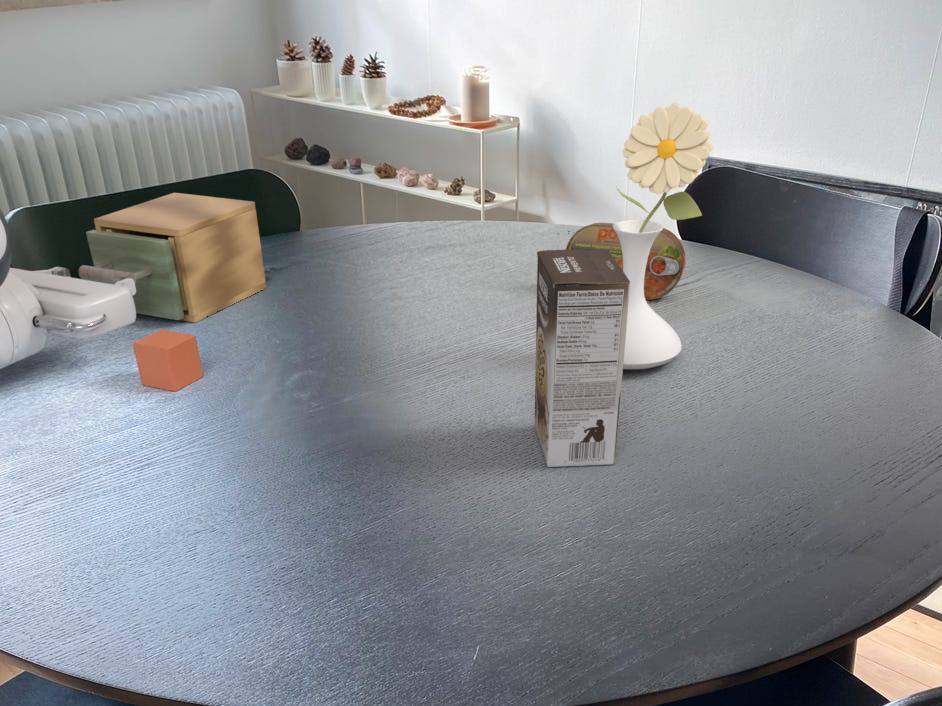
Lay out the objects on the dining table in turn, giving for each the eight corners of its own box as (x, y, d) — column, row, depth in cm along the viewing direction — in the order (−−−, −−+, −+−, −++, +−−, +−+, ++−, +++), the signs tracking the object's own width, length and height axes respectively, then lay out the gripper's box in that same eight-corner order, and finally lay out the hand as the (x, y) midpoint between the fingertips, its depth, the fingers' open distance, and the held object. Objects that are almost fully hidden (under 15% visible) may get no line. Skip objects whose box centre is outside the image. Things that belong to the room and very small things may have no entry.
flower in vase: (552, 361, 106) (562, 101, 91) (615, 333, 113) (634, 87, 98) (652, 393, 99) (680, 116, 84) (713, 361, 106) (749, 100, 91)
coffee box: (531, 425, 93) (535, 249, 84) (598, 422, 94) (610, 246, 84) (544, 469, 86) (550, 281, 76) (617, 465, 86) (632, 278, 77)
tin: (562, 291, 126) (565, 221, 121) (569, 284, 128) (572, 215, 123) (678, 304, 121) (686, 232, 116) (683, 296, 124) (691, 226, 119)
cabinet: (195, 323, 117) (178, 229, 111) (114, 309, 122) (93, 218, 116) (266, 288, 128) (255, 201, 122) (189, 276, 132) (174, 192, 126)
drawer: (151, 332, 112) (135, 253, 107) (76, 319, 116) (56, 241, 111) (246, 287, 125) (236, 214, 120) (175, 277, 129) (162, 206, 124)
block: (175, 392, 101) (167, 349, 98) (141, 385, 102) (131, 342, 100) (203, 376, 104) (195, 334, 101) (169, 370, 105) (161, 328, 103)
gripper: (70, 299, 95) (165, 261, 105) (-79, 273, 102) (23, 240, 112) (86, 362, 99) (176, 320, 109) (-58, 333, 106) (38, 296, 116)
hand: (97, 279), depth 110 cm, fingers open, 8 cm apart
